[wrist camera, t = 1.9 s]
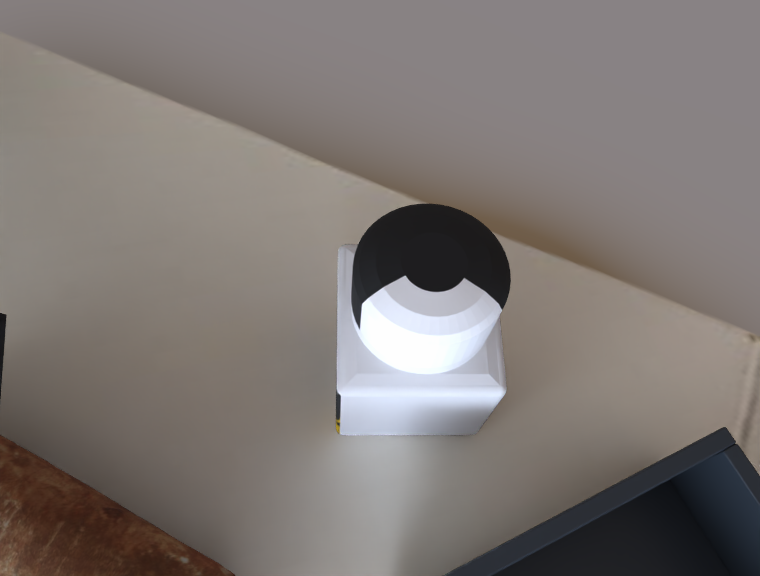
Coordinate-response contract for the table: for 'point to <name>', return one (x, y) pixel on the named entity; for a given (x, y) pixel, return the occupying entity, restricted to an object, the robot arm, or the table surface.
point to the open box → (649, 523)
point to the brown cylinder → (79, 528)
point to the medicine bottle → (420, 325)
